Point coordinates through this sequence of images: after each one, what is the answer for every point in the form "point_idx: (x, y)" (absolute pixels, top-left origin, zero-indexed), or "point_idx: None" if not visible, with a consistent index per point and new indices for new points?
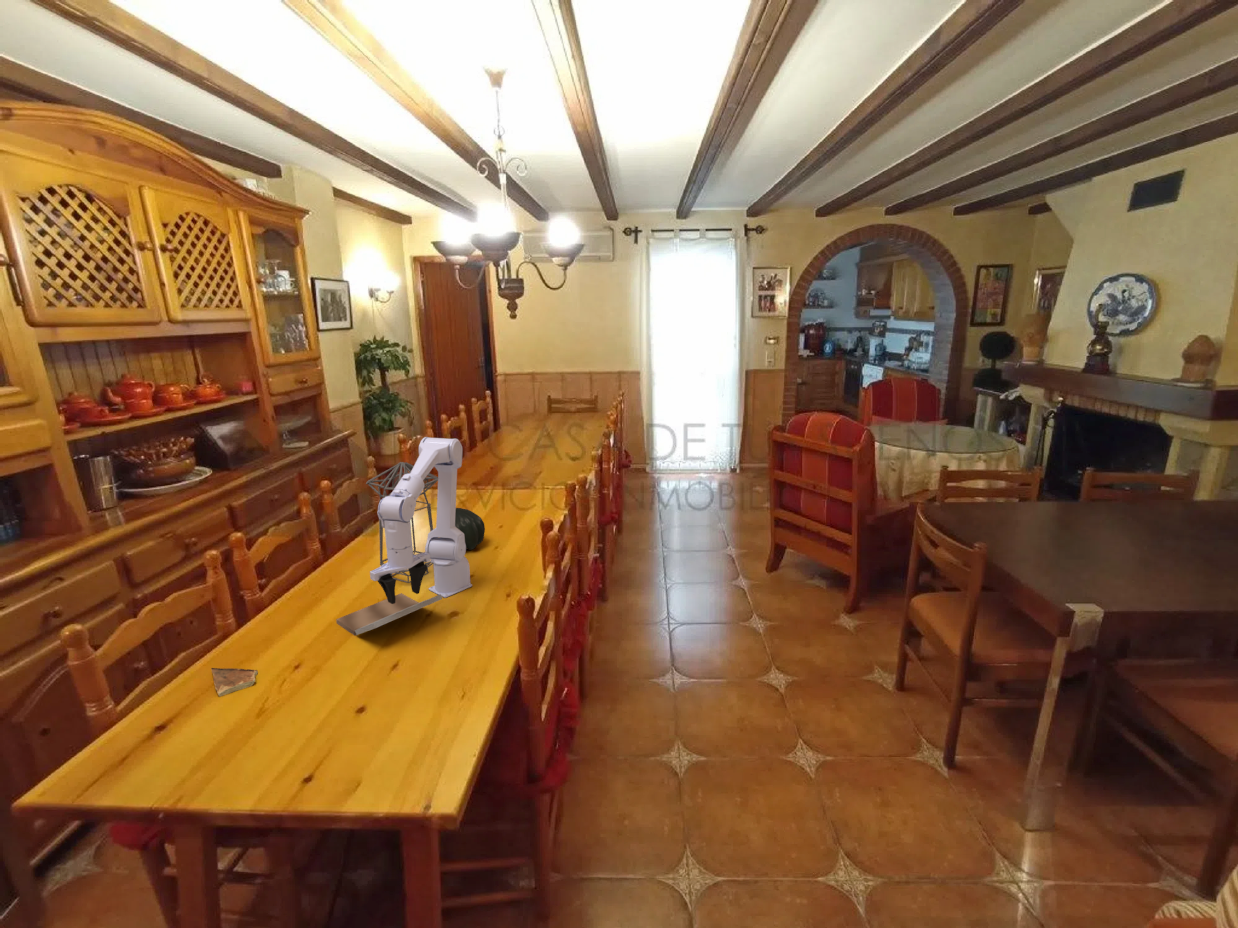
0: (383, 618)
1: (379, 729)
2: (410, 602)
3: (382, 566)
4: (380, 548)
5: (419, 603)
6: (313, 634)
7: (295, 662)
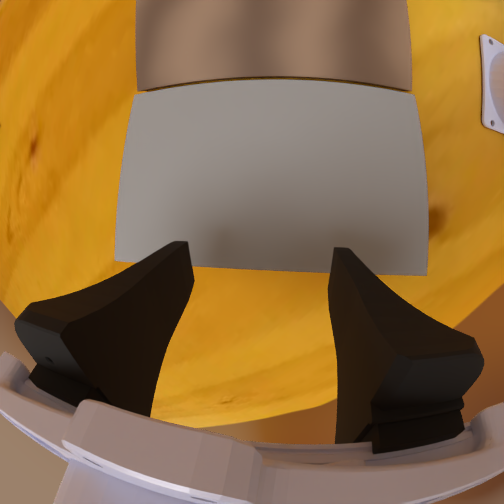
0: (196, 161)
1: None
2: (392, 52)
3: (29, 421)
4: None
5: (325, 266)
6: (84, 20)
7: (33, 128)
